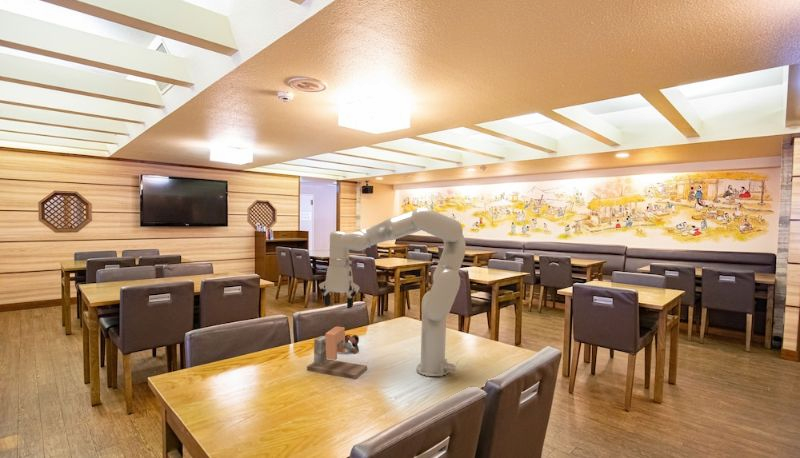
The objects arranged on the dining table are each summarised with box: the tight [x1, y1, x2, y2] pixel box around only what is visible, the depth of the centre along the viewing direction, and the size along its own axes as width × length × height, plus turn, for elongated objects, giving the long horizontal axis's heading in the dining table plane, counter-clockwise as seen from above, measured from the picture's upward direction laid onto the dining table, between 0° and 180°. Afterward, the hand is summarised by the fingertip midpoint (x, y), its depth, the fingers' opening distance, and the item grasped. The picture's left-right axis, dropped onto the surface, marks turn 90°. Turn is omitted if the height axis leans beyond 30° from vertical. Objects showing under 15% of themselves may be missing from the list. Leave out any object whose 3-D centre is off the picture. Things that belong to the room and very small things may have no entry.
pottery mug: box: [345, 334, 360, 355], centre depth 172 cm, size 12×9×8 cm
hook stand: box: [306, 335, 368, 380], centre depth 149 cm, size 21×10×12 cm, turn 70°
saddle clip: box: [324, 326, 346, 361], centre depth 149 cm, size 4×8×10 cm, turn 159°
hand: (338, 306), depth 150 cm, fingers open, 9 cm apart
